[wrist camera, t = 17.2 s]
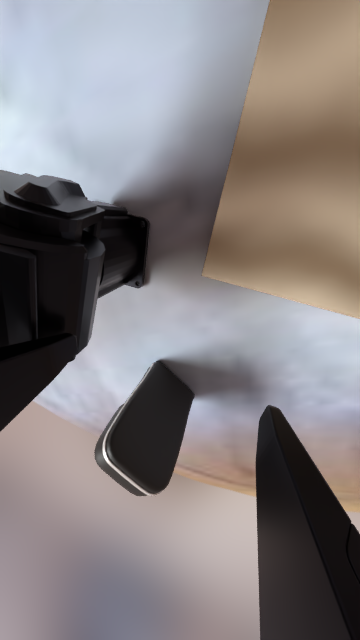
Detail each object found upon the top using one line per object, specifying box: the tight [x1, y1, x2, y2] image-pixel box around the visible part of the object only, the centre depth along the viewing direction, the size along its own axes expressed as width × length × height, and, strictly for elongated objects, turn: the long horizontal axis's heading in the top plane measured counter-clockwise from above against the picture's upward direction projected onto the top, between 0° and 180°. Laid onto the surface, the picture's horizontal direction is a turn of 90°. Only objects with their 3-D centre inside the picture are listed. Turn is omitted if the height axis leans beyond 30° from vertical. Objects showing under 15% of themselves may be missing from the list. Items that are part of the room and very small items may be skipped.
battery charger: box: [95, 361, 194, 496], centre depth 21 cm, size 7×4×11 cm, turn 48°
